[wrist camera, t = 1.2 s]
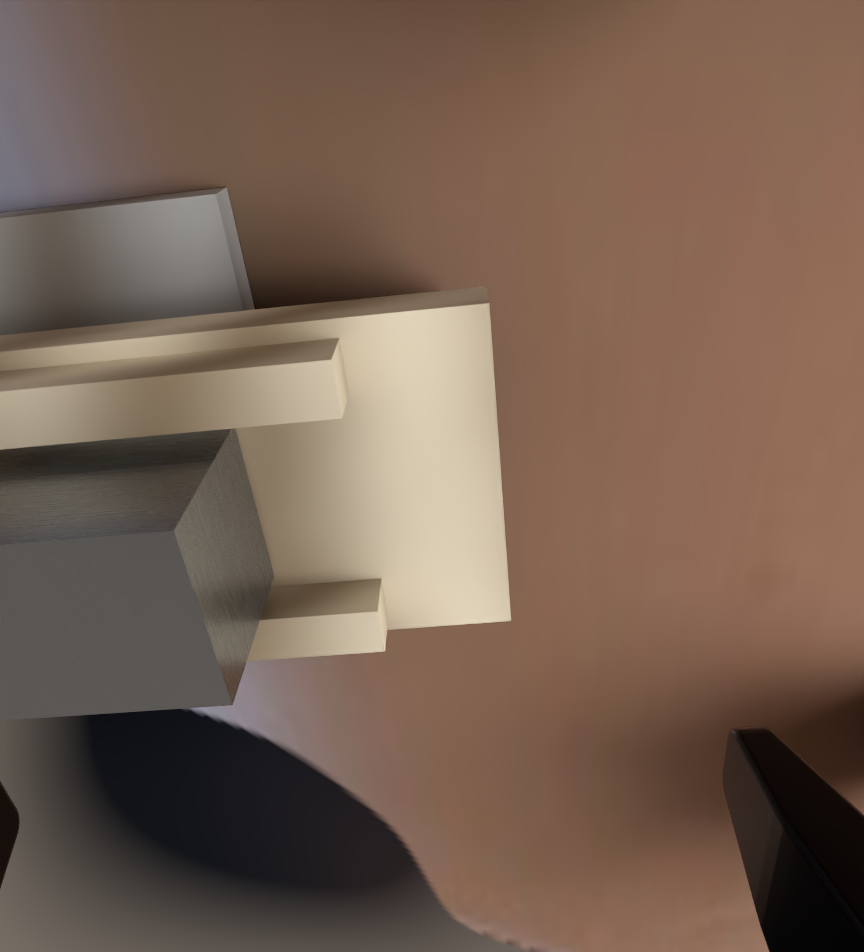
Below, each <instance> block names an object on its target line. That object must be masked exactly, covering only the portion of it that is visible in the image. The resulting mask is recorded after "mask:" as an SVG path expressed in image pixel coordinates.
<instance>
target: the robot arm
mask: <svg viewBox="0 0 864 952" xmlns="http://www.w3.org/2000/svg"><path fill="white" fill-rule="evenodd" d="M723 786H724V792H725V796H726V800H727V804H728V807H729V811H730V815H731V819H732V822H733V826H734V830H735V834H736V837H737V841H738V845H739V848H740V852H741V856H742V860H743V863H744V867H745V871H746V875H747V878H748V882H749V886H750V890H751V893H752V897H753V901H754V904H755V908H756V912H757V915H758V919H759V922H760V926H761V929H762V932H763V935H764V937H765V940H766V943H767V946H768V949H769V952H864V815H863V814H862V813H861V812H860V811H859V810H858V809H857V808H856V807H855V806H853V805H852V804H851V803H850V802H849V801H848V800H847V799H846V798H845V797H844V796H843V795H842V794H840V793H839V792H838V791H837V790H836V789H835V788H834V787H833V786H832V785H831V784H830V783H828V782H827V781H826V780H825V779H824V778H823V777H822V776H821V775H820V774H819V773H818V772H816V771H815V770H814V769H813V768H812V767H811V766H810V765H809V764H808V763H807V762H806V761H804V760H803V759H802V758H801V757H800V756H799V755H798V754H797V753H796V752H795V751H794V750H793V749H791V748H790V747H789V746H788V745H787V744H786V743H785V742H784V741H783V740H782V739H781V738H779V737H778V736H777V735H776V734H775V733H774V732H773V731H772V730H770V729H768V728H766V727H763V726H753V727H736V728H733V729H732V730H731V731H730V732H729V735H728V739H727V746H726V753H725V761H724V768H723ZM18 830H19V813H18V810H17V808H16V806H15V805H14V803H13V801H12V800H11V798H10V796H9V795H8V793H7V791H6V790H5V788H4V786H3V785H2V783H1V781H0V888H1V885H2V881H3V878H4V875H5V872H6V869H7V866H8V863H9V859H10V856H11V853H12V850H13V847H14V844H15V840H16V837H17V834H18Z"/></svg>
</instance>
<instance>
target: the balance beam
mask: <svg viewBox="0 0 864 952" xmlns="http://www.w3.org/2000/svg"><path fill="white" fill-rule="evenodd" d="M232 428H235V429H236V432H237V436H238V440H239V444H240V448H241V451H242V455H243V459H244V463H245V466H246V470H247V474H248V478H249V482H250V485H251V489H252V493H253V497H254V500H255V504H256V508H257V512H258V516H259V519H260V523H261V527H262V531H263V535H264V538H265V542H266V546H267V550H268V553H269V557H270V561H271V565H272V569H273V572H274V578H273V581H272V585H271V588H270V591H269V594H268V597H267V600H266V603H265V606H264V609H263V612H262V615H261V618H260V622H259V625H258V628H257V631H256V634H255V637H254V640H253V643H252V646H251V649H250V652H249V655H248V659H247V661H255V660H270V659H284V658H298V657H312V656H327V655H341V654H355V653H369V652H383V651H385V646H386V636H387V630H391V629H405V628H418V627H432V626H446V625H460V624H474V623H488V622H502V621H511V614H510V599H509V584H508V570H507V555H506V541H505V526H504V512H503V497H502V483H501V468H500V453H499V439H498V424H497V410H496V395H495V381H494V366H493V352H492V337H491V322H490V308H489V299H488V294H487V289H486V286H483V287H473V288H463V289H453V290H443V291H433V292H423V293H414V294H404V295H394V296H384V297H374V298H364V299H354V300H345V301H335V302H325V303H315V304H305V305H295V306H285V307H276V308H266V309H256V310H255V308H254V304H253V299H252V295H251V291H250V286H249V282H248V278H247V273H246V269H245V265H244V260H243V256H242V251H241V247H240V243H239V238H238V234H237V230H236V225H235V221H234V217H233V212H232V208H231V204H230V199H229V195H228V190H227V187H225V188H216V189H207V190H198V191H189V192H180V193H171V194H162V195H153V196H145V197H136V198H127V199H118V200H109V201H100V202H91V203H82V204H74V205H65V206H56V207H47V208H38V209H29V210H20V211H11V212H3V213H0V450H2V449H13V448H24V447H35V446H45V445H56V444H67V443H78V442H89V441H100V440H111V439H122V438H133V437H144V436H155V435H166V434H177V433H188V432H199V431H210V430H221V429H232Z"/></svg>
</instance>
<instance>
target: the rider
mask: <svg viewBox="0 0 864 952" xmlns="http://www.w3.org/2000/svg"><path fill="white" fill-rule="evenodd" d="M273 578H274V572H273V569H272V565H271V561H270V557H269V553H268V550H267V546H266V542H265V538H264V535H263V531H262V527H261V523H260V519H259V516H258V512H257V508H256V504H255V500H254V497H253V493H252V489H251V485H250V482H249V478H248V474H247V470H246V466H245V463H244V459H243V455H242V451H241V448H240V444H239V440H238V436H237V432H236V429H235V428H232V429H221V430H210V431H199V432H188V433H177V434H166V435H155V436H144V437H133V438H122V439H111V440H100V441H89V442H78V443H67V444H56V445H45V446H35V447H24V448H13V449H2V450H0V720H15V719H30V718H45V717H60V716H76V715H91V714H106V713H120V712H136V711H150V710H166V709H181V708H196V707H211V706H226V705H233V702H234V699H235V696H236V692H237V689H238V686H239V683H240V680H241V677H242V674H243V671H244V668H245V665H246V662H247V659H248V655H249V652H250V649H251V646H252V643H253V640H254V637H255V634H256V631H257V628H258V625H259V622H260V618H261V615H262V612H263V609H264V606H265V603H266V600H267V597H268V594H269V591H270V588H271V585H272V581H273Z"/></svg>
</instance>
